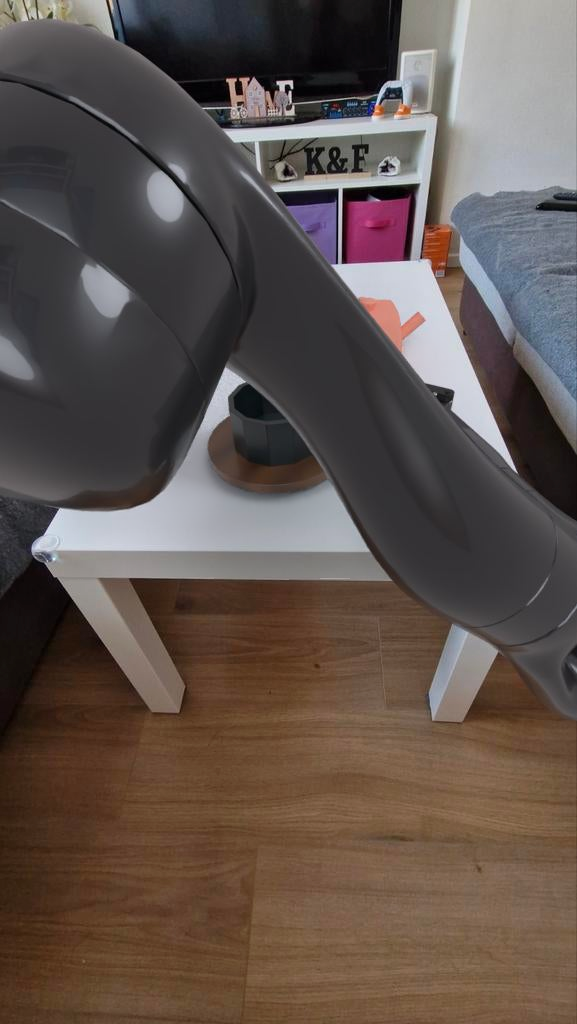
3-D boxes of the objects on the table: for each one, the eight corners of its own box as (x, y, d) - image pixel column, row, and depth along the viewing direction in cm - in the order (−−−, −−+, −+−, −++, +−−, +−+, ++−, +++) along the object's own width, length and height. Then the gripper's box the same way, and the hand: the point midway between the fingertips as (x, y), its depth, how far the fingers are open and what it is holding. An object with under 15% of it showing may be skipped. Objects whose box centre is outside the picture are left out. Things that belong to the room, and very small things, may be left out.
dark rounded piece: (183, 475, 61) (151, 359, 50) (246, 400, 73) (232, 294, 62) (319, 508, 55) (317, 386, 45) (365, 421, 67) (371, 308, 56)
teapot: (368, 337, 86) (371, 277, 79) (423, 359, 80) (432, 295, 73) (308, 367, 80) (306, 304, 73) (362, 393, 73) (366, 327, 66)
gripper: (526, 411, 39) (413, 327, 51) (374, 453, 36) (293, 353, 48) (502, 483, 44) (405, 391, 56) (368, 524, 41) (296, 418, 53)
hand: (353, 374), depth 52 cm, fingers closed
